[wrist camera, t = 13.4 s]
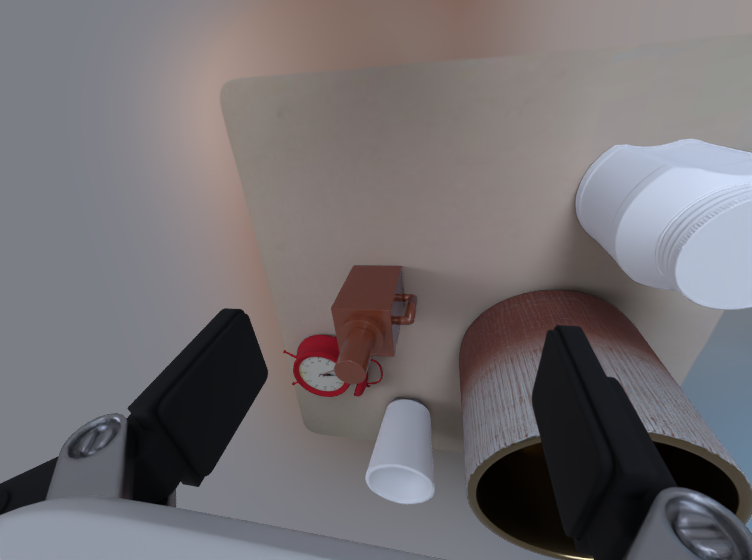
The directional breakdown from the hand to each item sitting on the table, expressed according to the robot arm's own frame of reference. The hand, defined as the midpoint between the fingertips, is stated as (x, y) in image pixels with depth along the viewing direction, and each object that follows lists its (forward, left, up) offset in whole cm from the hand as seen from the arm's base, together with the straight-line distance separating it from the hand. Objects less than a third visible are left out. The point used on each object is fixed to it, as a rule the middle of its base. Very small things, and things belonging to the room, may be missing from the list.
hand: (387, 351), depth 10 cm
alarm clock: (+30, -15, -30) cm, 45 cm away
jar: (+4, +21, -30) cm, 37 cm away
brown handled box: (+16, -6, -30) cm, 35 cm away
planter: (+26, +15, -30) cm, 43 cm away
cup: (+41, -4, -30) cm, 51 cm away
